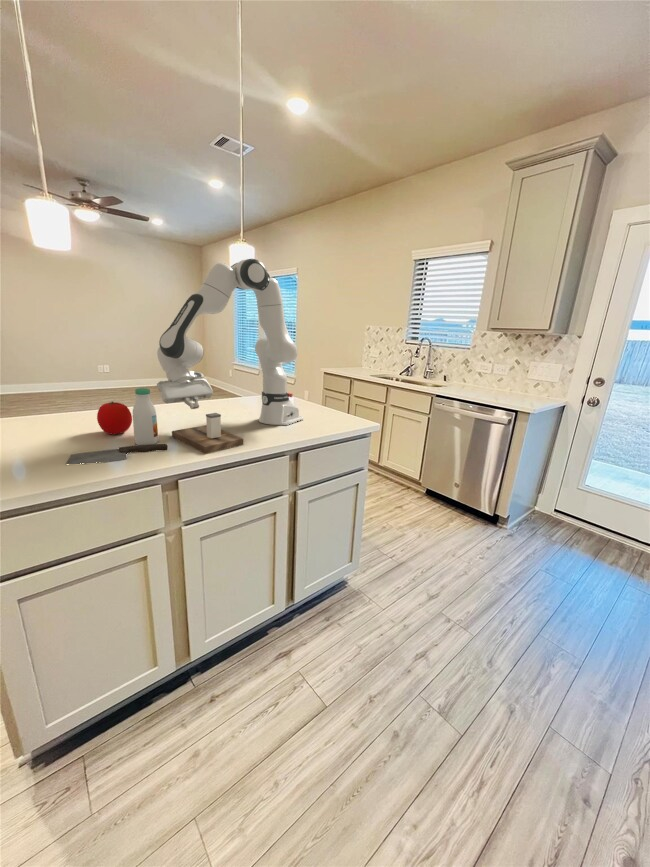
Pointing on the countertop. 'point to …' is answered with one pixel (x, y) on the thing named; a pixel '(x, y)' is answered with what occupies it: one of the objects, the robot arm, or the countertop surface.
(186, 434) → the wooden cutting board
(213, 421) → the white lidded container
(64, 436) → the countertop surface
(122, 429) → the tomato
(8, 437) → the countertop surface
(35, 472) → the countertop surface
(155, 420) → the milk bottle
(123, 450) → the cleaver
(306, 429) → the countertop surface
